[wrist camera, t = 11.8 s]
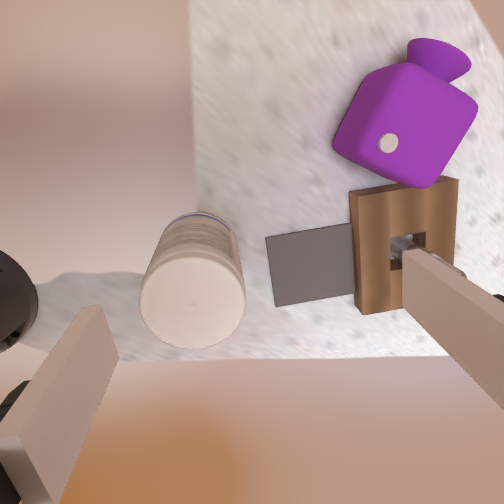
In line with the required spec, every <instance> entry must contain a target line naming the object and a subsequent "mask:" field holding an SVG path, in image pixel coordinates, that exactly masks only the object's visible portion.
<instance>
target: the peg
mask: <svg viewBox="0 0 504 504" xmlns="http://www.w3.org/2000/svg"><path fill="white" fill-rule="evenodd" d="M419 248H420V249H421V250H423V251H424V252H426V253H427V254H429V255H431V256H432V257H434V258H435V259H437V260H438V261H440V262H441V263H443V264H445V265H446V266H448V267H449V268H451V269H452V270H454V271H455V272H457V273H458V274H460V275H462V276H463V277H465V278H466V279H467V277H466V275H465V273H464V272H462V271H461V270H459V269H458V268H456V267H455V266H453V265H451V264H450V263H448V262H447V261H445V260H443V259H442V258H440V257H439V256H437V255H435V254H434V253H432V252H431V251H429V250H427V249H426V248H424V247H423V246H421V245H419V244H418V243H416V242H415V241H413V240H411V239H410V238H408V237H407V236H405V235H403V236H398V237H392V238H390V254H391V255H392V256H393V257H395V258H396V259H397V260H398V261H400V262H401V263H402V251H408V250H414V249H419Z"/></svg>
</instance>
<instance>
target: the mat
mask: <svg viewBox="0 0 504 504" xmlns="http://www.w3.org/2000/svg"><path fill="white" fill-rule="evenodd" d="M265 238H266V245H267V251H268V258H269V265H270V272H271V279H272V286H273V293H274V300H275V306H276V307H281V306H286V305H292V304H297V303H303V302H308V301H314V300H320V299H325V298H331V297H336V296H342V295H348V294H353V293H355V280H354V260H353V241H352V223H345V224H340V225H334V226H328V227H322V228H316V229H311V230H305V231H299V232H293V233H288V234H282V235H276V236H270V237H265Z"/></svg>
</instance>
